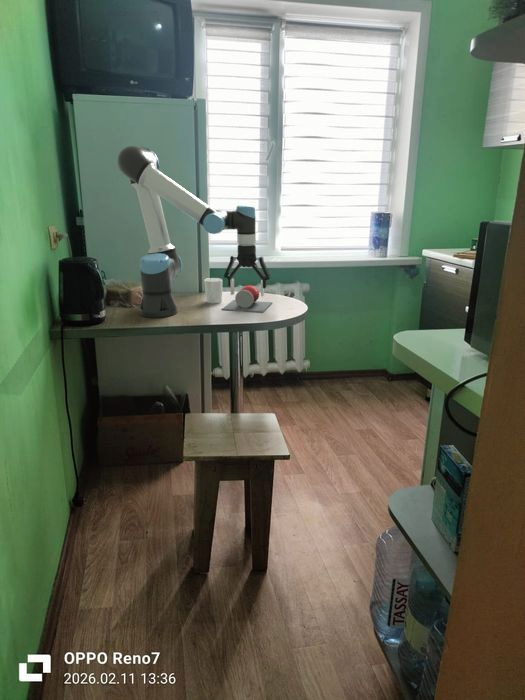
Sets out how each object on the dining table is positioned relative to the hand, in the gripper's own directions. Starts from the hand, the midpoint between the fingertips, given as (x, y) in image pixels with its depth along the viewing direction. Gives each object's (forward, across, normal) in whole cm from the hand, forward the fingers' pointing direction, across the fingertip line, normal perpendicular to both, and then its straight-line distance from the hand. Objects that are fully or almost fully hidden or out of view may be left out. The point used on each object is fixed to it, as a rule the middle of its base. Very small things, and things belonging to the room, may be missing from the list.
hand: (247, 295), depth 211 cm
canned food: (+1, 0, -7) cm, 7 cm away
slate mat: (+5, 0, 0) cm, 5 cm away
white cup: (+5, +17, -5) cm, 18 cm away
